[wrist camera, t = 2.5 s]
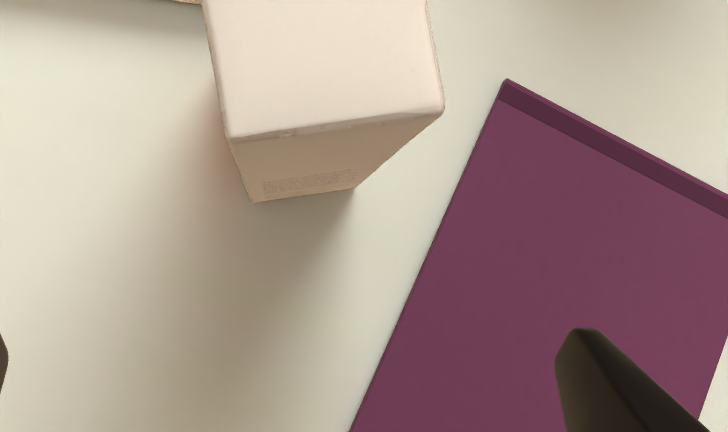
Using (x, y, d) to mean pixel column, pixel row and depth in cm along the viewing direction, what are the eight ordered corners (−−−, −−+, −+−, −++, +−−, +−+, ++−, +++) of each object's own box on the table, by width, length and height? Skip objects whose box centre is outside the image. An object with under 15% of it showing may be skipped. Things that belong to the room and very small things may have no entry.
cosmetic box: (222, 53, 22) (164, -195, 10) (331, 40, 23) (399, -205, 11) (248, 210, 21) (220, 145, 10) (359, 192, 22) (459, 111, 10)
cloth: (616, 630, 22) (623, 637, 22) (316, 505, 21) (317, 510, 21) (762, 217, 25) (770, 216, 25) (503, 80, 24) (507, 77, 23)
